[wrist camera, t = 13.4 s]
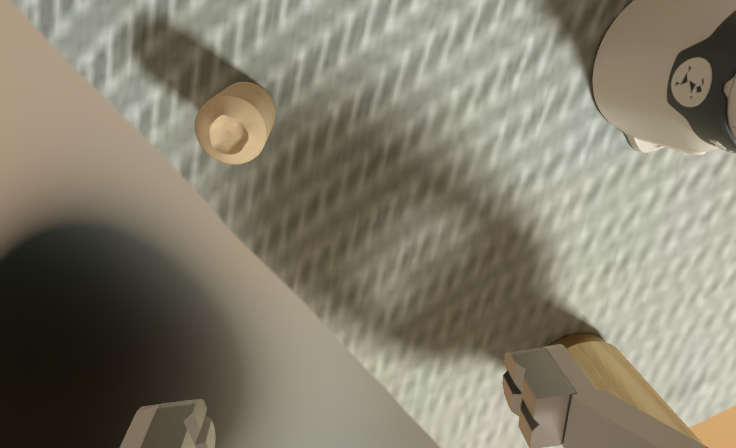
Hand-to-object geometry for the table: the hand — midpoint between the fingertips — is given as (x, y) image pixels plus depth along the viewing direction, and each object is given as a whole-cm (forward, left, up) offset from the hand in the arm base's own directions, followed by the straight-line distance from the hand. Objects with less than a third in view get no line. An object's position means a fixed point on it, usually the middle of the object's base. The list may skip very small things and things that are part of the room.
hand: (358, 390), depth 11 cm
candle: (+8, -2, -34) cm, 35 cm away
